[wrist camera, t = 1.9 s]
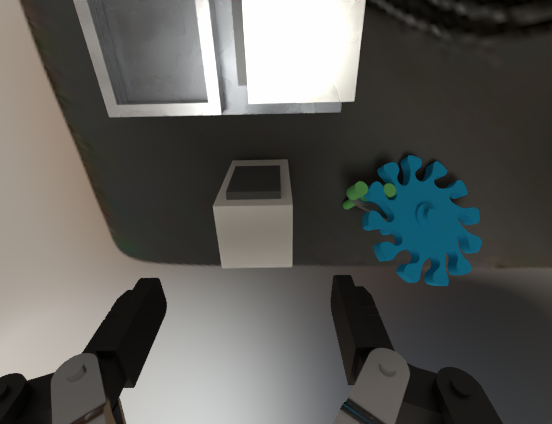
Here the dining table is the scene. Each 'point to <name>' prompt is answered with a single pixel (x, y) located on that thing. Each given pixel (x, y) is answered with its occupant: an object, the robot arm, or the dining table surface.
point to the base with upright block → (223, 55)
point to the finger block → (255, 215)
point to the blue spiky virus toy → (418, 220)
